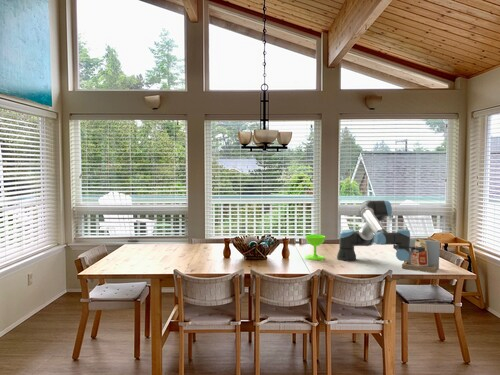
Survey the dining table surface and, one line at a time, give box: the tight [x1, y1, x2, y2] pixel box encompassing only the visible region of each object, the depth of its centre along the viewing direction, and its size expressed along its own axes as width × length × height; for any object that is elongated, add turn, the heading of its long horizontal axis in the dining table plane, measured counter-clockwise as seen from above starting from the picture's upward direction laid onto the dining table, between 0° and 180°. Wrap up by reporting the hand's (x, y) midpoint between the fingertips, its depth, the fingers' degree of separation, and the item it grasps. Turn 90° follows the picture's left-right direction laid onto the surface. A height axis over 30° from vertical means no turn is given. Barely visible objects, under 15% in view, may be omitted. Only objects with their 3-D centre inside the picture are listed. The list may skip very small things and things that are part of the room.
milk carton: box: [411, 237, 428, 266], centre depth 285 cm, size 9×9×20 cm
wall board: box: [401, 238, 441, 273], centre depth 284 cm, size 24×15×20 cm, turn 59°
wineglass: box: [304, 234, 326, 261], centre depth 317 cm, size 16×16×18 cm
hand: (410, 246), depth 274 cm, fingers open, 13 cm apart
